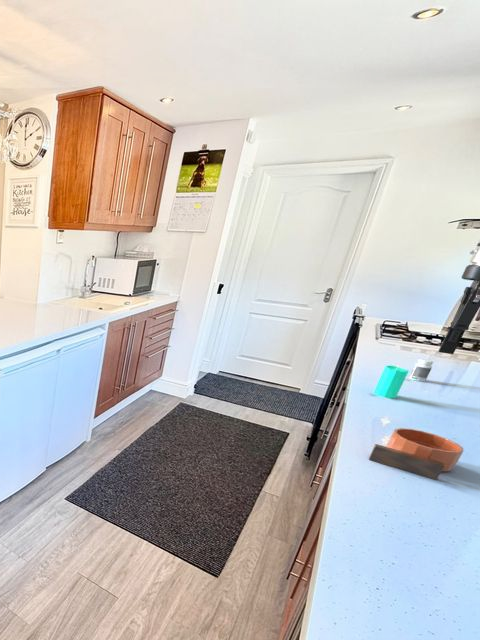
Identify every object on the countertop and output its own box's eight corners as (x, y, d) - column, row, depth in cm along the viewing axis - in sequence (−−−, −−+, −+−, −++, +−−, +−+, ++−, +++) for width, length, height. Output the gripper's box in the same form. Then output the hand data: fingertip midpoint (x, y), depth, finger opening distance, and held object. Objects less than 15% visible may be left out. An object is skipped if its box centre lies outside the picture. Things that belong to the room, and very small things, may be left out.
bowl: (436, 455, 107) (447, 435, 105) (462, 478, 97) (475, 457, 95) (376, 443, 112) (385, 424, 110) (395, 464, 102) (406, 443, 100)
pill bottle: (428, 382, 162) (437, 362, 159) (412, 380, 164) (422, 361, 161) (420, 378, 166) (430, 359, 163) (406, 377, 168) (415, 357, 165)
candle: (369, 390, 151) (383, 360, 146) (389, 393, 149) (403, 362, 145) (379, 396, 145) (394, 365, 141) (400, 399, 144) (415, 368, 139)
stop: (435, 477, 97) (443, 463, 95) (436, 480, 96) (444, 466, 94) (369, 456, 105) (375, 443, 103) (368, 459, 103) (375, 446, 102)
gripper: (465, 262, 110) (425, 345, 118) (470, 264, 101) (427, 353, 110) (508, 265, 105) (463, 351, 114) (518, 267, 96) (468, 360, 105)
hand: (445, 352), depth 112 cm, fingers closed
